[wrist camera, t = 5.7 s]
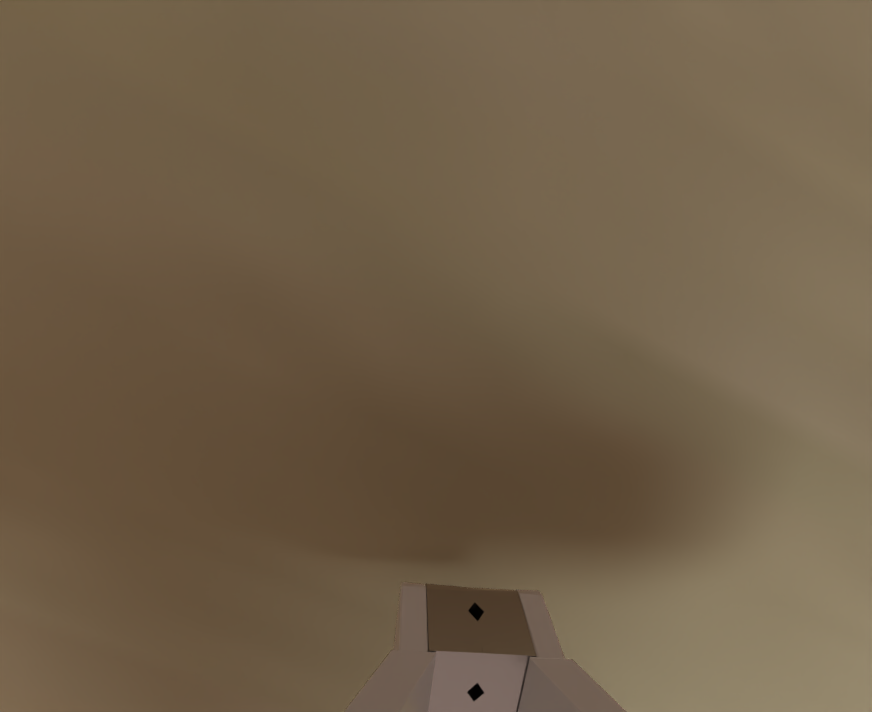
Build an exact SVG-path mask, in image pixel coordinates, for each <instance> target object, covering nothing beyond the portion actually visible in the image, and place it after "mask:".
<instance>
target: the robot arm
mask: <svg viewBox="0 0 872 712" xmlns="http://www.w3.org/2000/svg"><path fill="white" fill-rule="evenodd" d="M344 712H626V711H625V710H624V709H623V708H622V707H621V706H620V705H619V704H618V703H617V702H616V701H615V700H614V699H613V698H612V697H611V696H610V695H609V694H608V693H607V692H606V691H605V690H604V689H603V688H602V687H601V686H599V685H598V684H597V683H596V682H595V681H594V680H593V679H592V678H591V677H590V676H589V675H588V674H587V673H586V672H585V671H584V670H583V669H582V668H581V667H580V666H579V665H578V664H577V663H576V662H575V661H574V660H573V659H565V657H564V654H563V652H562V649H561V646H560V643H559V640H558V638H557V635H556V632H555V629H554V626H553V624H552V621H551V618H550V615H549V612H548V610H547V607H546V604H545V601H544V598H543V596H542V594H541V593H540V591H538V590H509V589H490V588H471V587H458V586H447V585H435V584H418V583H407V582H402V583H401V587H400V595H399V604H398V612H397V620H396V629H395V640H394V650H391V651H390V652H389V654H388V655H387V656H386V658H385V659H384V660H383V662H382V663H381V664H380V665H379V667H378V668H377V669H376V671H375V672H374V673H373V674H372V676H371V677H370V678H369V680H368V681H367V682H366V684H365V685H364V686H363V687H362V689H361V690H360V691H359V693H358V694H357V695H356V697H355V698H354V699H353V700H352V702H351V703H350V704H349V706H348V707H347V708H346V710H345V711H344Z"/></svg>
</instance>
